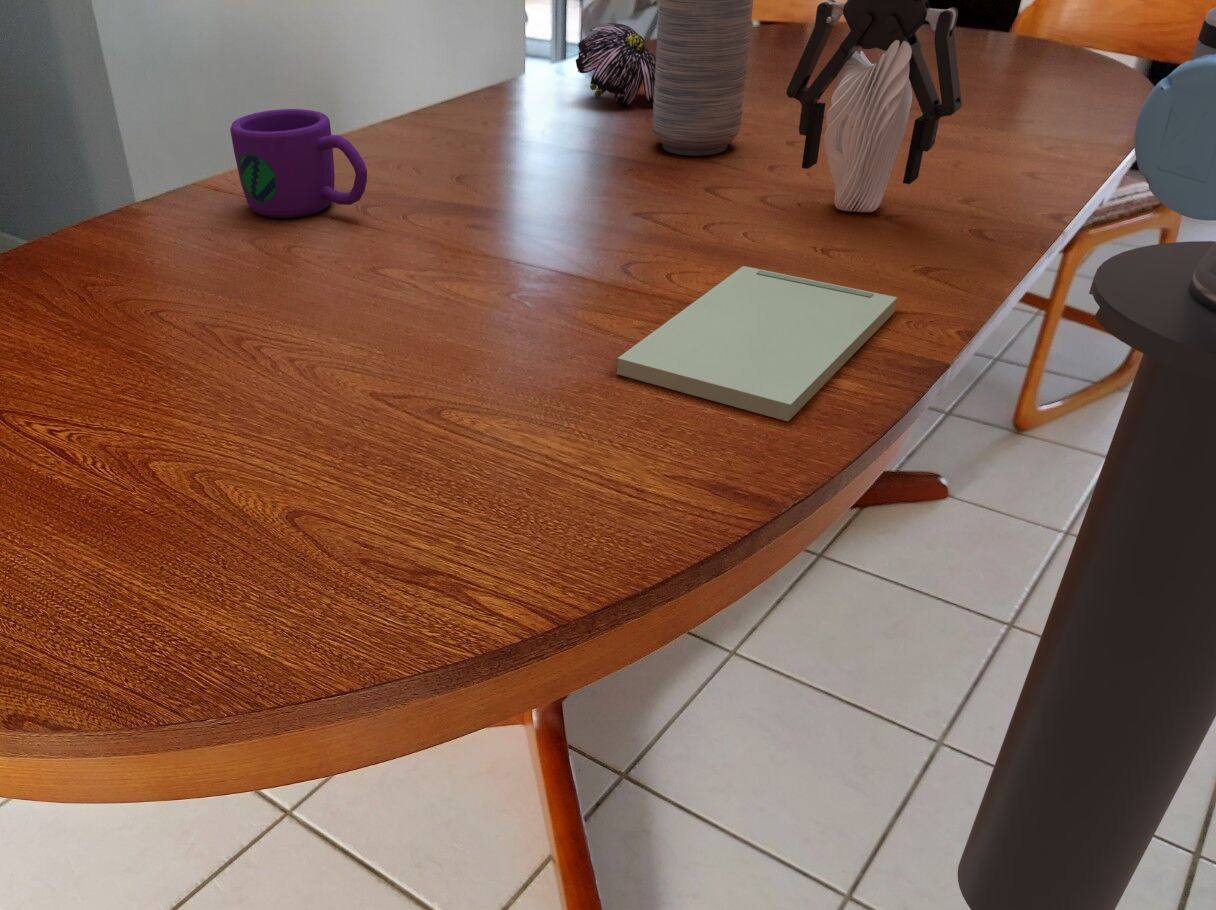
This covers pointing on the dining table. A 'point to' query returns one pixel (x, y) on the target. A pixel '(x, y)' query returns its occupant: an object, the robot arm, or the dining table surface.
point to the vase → (700, 74)
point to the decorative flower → (618, 63)
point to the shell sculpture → (867, 126)
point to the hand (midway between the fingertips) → (858, 173)
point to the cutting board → (759, 341)
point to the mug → (292, 162)
